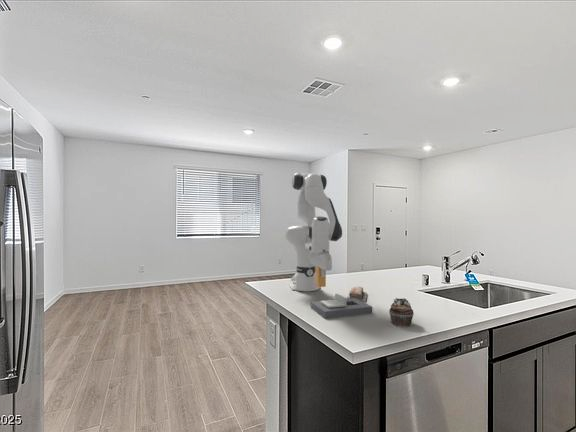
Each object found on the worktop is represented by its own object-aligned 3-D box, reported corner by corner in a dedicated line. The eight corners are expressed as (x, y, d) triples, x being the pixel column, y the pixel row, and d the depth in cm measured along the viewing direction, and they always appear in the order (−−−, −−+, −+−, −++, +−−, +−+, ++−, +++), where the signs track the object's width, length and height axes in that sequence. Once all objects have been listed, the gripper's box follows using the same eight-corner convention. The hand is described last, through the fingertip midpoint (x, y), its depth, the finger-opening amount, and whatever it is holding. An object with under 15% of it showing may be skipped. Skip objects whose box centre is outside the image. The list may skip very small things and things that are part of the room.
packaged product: (365, 294, 156) (346, 292, 159) (365, 303, 156) (346, 301, 159) (367, 286, 173) (349, 285, 176) (367, 294, 173) (349, 293, 176)
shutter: (320, 302, 144) (320, 295, 144) (337, 300, 147) (337, 293, 147) (328, 307, 136) (328, 299, 136) (346, 306, 138) (346, 298, 138)
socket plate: (310, 308, 146) (310, 301, 146) (354, 303, 154) (354, 297, 154) (324, 318, 131) (324, 311, 131) (372, 313, 138) (372, 306, 138)
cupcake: (385, 319, 130) (385, 296, 130) (407, 319, 130) (407, 296, 130) (394, 327, 120) (394, 302, 120) (418, 327, 121) (418, 302, 121)
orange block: (315, 285, 154) (315, 265, 154) (322, 284, 156) (322, 265, 155) (318, 287, 151) (318, 267, 150) (325, 286, 152) (325, 266, 152)
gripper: (335, 251, 144) (335, 280, 144) (318, 246, 163) (318, 271, 163) (323, 251, 142) (323, 281, 142) (307, 246, 161) (307, 272, 162)
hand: (320, 275), depth 153 cm, fingers closed on orange block, 4 cm apart
